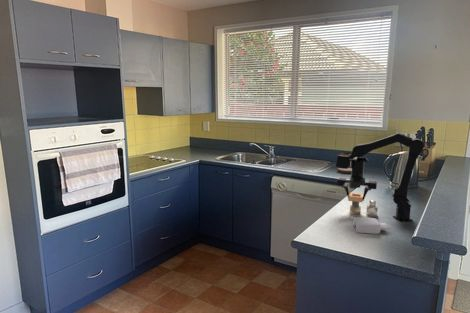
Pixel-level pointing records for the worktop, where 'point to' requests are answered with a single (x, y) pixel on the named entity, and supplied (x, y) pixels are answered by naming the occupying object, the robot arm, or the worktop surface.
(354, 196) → the washer
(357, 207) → the small brown bottle
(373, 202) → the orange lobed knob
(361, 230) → the white plastic bottle
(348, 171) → the brown layered cake
